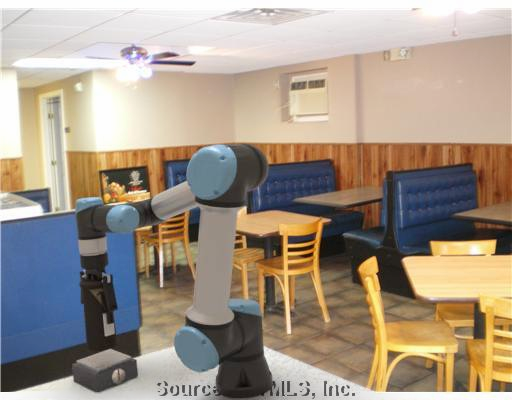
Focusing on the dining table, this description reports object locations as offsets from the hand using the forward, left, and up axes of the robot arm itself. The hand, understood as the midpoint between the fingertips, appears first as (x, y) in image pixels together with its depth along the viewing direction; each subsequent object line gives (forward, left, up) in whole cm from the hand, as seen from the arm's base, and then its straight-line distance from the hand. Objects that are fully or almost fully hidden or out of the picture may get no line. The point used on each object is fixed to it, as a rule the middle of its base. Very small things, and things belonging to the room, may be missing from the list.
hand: (101, 331), depth 157 cm
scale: (0, 0, -14) cm, 14 cm away
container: (0, 0, -5) cm, 5 cm away
